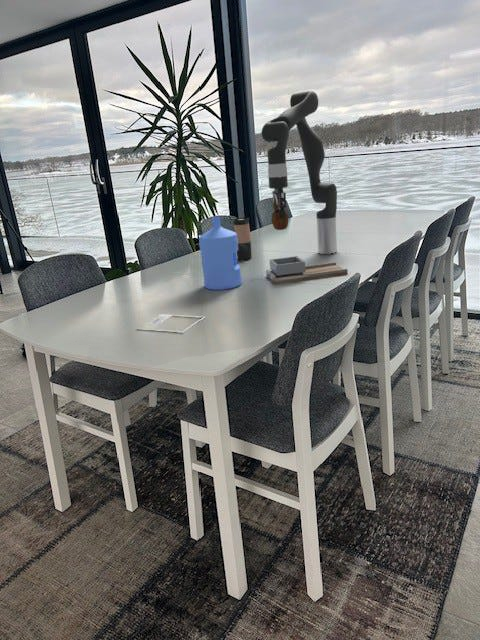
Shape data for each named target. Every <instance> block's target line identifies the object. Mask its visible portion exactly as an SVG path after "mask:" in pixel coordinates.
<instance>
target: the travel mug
mask: <svg viewBox="0 0 480 640" xmlns="http://www.w3.org/2000/svg"><path fill="white" fill-rule="evenodd" d="M250 228H251V227H250V219H249V217H237V218H234V219H233V229H234V231H233V232H235V233H237V238H238V251H237V252H236V255H237V261H248V260H252V240H251V233H250V232H251V229H250Z"/></svg>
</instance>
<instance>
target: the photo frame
mask: <svg viewBox="0 0 480 640" xmlns="http://www.w3.org/2000/svg"><path fill="white" fill-rule="evenodd" d="M158 315H159V318H157V319H155V320H154V321H152V322H150V323H149V324H147V325H154V324H156V323H158V322H159V321H161V322H163V321H165V320H167V319H169V318H170V317H172V316H178V317H177V318H184V317H195V318H194V319H198V320H196V321H195V322H194V323H192V324H191V325H190V326H188V327H187V328H185V329H184V330H181V331H180V330H171V329H159V330H161V331H169V332H178V333H177V334H180V333H184V332H185V333H186V331H187V330H188V329H189V330H191V329H192V328H193V327H192V326H194V325H195V324H196V323H198V322H199V321H201V320H202V321H204V320H205V319H206V316H198V315H181V314H167V313H166V314H164V313H160V314H158ZM160 316H161V317H160ZM201 317H203V318H201ZM172 318H173V317H172ZM199 318H201V319H199ZM204 318H205V319H204ZM170 319H171V318H170ZM170 319H169V320H170ZM203 319H204V320H203ZM167 321H168V320H167ZM202 321H201V322H202ZM165 322H166V321H165ZM198 324H199V323H198ZM195 326H196V325H195ZM195 326H194V327H195ZM191 327H192V328H191ZM190 328H191V329H190ZM189 330H188V331H189ZM188 331H187V332H188ZM185 333H184V334H185Z"/></svg>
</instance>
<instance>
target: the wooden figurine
mask: <svg viewBox="0 0 480 640" xmlns="http://www.w3.org/2000/svg"><path fill="white" fill-rule="evenodd" d="M281 205H283V204H281ZM272 206H273V208H272V209H273V210H274V211H273V212H272V214H271V223H272V226H273V229H275V230H277V231H283V230H286V229H287V228H288V225H289V214H288V211H286V210H285V218H284V219H280V218H279V210H280V209H278V205H277V203H276V198H275V203H274V205H273V204H272Z"/></svg>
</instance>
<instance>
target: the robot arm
mask: <svg viewBox="0 0 480 640" xmlns="http://www.w3.org/2000/svg"><path fill="white" fill-rule="evenodd" d="M289 103H290V104H289V105H290V107H289V108H287V109H286V110H284V111H283V112H282V113H280V114H279V115H278V116H276V117H275V118H273V119H271V120H269V121H267V122H265V124H264V125H263V126H262V129H261V137H262V139H263V140H264V141H265V142H268V143H272V142H273V143H274V142H276V145H275V147H272V148H270V149H268V150H267V164H268V167H267V168H268V169H267V175H268V188H269V189H271V190H272V189H274V190H273V191H272V192H271V193H272V206H273V205H274V203H275V198H276V203H277V205H278V209H280V210H279V218H280V219H284V218H285V211H286V208H287V201H286V200H287V196H286V195H287V193H286V192H284V189H285V188H288V186H289V184H288V183H289V181H288V168H287V157H286V151H287V145H288V140H289V137H290V136H289V135H290V134H289V133H290V131H291V130H292V129H293V128H294V127H295V126H296V128H297V132H298V134H299V135H298V136H299V140H300V143H301V149H302V153H303V157H304V158H303V159H304V160H305V164H306V168H307V173H308V178H309V179H308V180H309V185H310V193H311V197H312V200H313V201H314V203H317V204H325V207H324V208H322V209H321V210H318V211H316V214H315V215H316V232H317V233H316V234H317V252H318V254H319V253H320V254H321V255H332V254H331V253H333V254H336V253H337V252H338V242H337V241H338V240H337V238H338V236H337V208H338V205H337V203H338V190H337V189H338V188H337V186H336V185H335V183H333V182H322V181H321V178H320V172H321V169H322V166H323V164H324V161H325V157H326V154H325V149H324V148H325V147H324V144H323V141H322V139H321V137H320V136H319V135H318V133H316V132H315V131H314V130H313V128H312V127H311V126H310V125H309V124H308V121H307V119H306V117H308V116H310V115H312V114H314V113H315V112H317V110H318V107H319V97H318V94H317V93H316V92H315V91H314V90H305V91H300V92H296V93H292V95H291V96H290V100H289ZM281 204H283V205H281ZM335 252H336V253H335Z"/></svg>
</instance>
